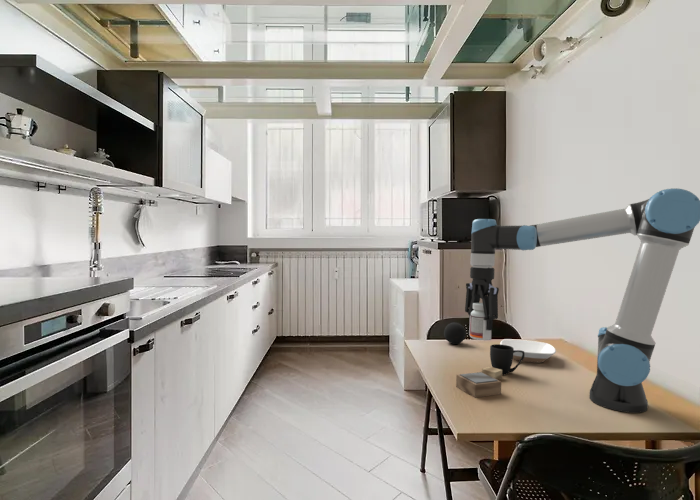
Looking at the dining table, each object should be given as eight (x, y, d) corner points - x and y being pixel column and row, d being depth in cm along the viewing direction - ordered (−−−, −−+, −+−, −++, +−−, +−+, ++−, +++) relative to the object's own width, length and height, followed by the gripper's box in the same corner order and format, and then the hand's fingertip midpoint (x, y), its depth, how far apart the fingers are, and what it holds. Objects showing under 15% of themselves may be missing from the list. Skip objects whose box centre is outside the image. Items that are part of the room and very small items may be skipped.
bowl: (558, 368, 165) (559, 355, 165) (499, 362, 172) (500, 349, 172) (551, 354, 185) (552, 342, 185) (499, 349, 192) (499, 337, 192)
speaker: (439, 343, 200) (440, 322, 200) (451, 340, 207) (452, 319, 207) (457, 347, 193) (458, 325, 193) (469, 344, 200) (470, 323, 199)
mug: (523, 378, 151) (524, 352, 151) (488, 373, 156) (489, 348, 156) (523, 372, 159) (524, 347, 158) (490, 367, 163) (491, 343, 163)
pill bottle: (476, 335, 142) (477, 301, 142) (493, 338, 138) (494, 304, 137) (466, 337, 138) (467, 303, 138) (483, 341, 133) (484, 305, 133)
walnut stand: (500, 394, 135) (501, 380, 135) (475, 397, 132) (475, 383, 132) (480, 383, 145) (481, 371, 145) (456, 386, 141) (456, 373, 141)
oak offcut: (502, 378, 151) (502, 369, 151) (494, 381, 148) (494, 372, 148) (489, 374, 155) (489, 366, 155) (481, 377, 152) (482, 368, 151)
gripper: (512, 269, 130) (509, 343, 130) (473, 264, 147) (471, 330, 148) (492, 269, 127) (490, 345, 128) (455, 264, 145) (452, 331, 145)
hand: (479, 337), depth 138 cm, fingers closed on pill bottle, 6 cm apart
